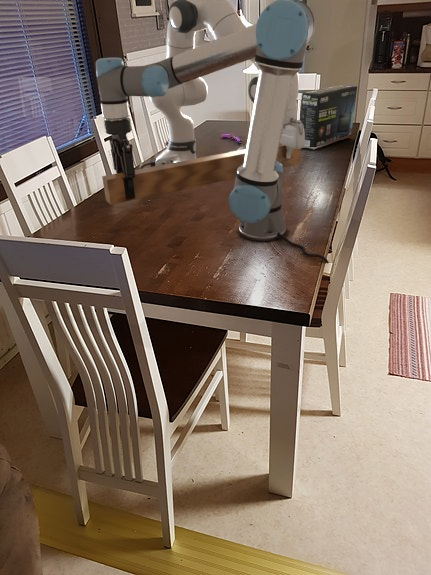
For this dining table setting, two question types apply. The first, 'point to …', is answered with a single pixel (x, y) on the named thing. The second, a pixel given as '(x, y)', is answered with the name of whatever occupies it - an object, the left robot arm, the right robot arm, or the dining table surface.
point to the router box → (327, 114)
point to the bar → (184, 174)
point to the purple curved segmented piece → (232, 138)
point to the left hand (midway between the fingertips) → (282, 156)
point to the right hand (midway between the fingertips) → (127, 196)
